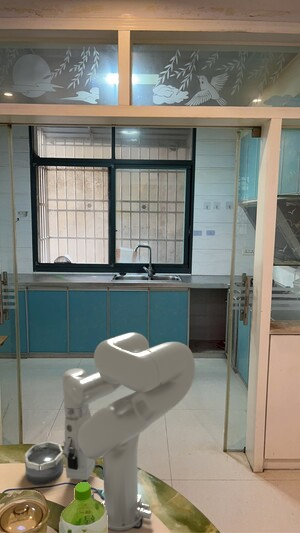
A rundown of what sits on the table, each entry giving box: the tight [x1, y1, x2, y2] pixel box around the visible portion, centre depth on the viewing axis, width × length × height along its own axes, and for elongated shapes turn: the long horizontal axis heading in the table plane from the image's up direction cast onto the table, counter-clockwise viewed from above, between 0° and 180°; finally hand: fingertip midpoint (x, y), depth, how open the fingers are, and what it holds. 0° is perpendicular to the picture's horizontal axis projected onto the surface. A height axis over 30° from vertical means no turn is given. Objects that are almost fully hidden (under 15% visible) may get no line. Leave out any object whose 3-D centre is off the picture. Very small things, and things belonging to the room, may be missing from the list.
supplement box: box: [63, 439, 96, 481], centre depth 117 cm, size 7×7×13 cm
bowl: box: [24, 441, 64, 486], centre depth 121 cm, size 12×12×7 cm
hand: (80, 459), depth 117 cm, fingers closed on supplement box, 7 cm apart
